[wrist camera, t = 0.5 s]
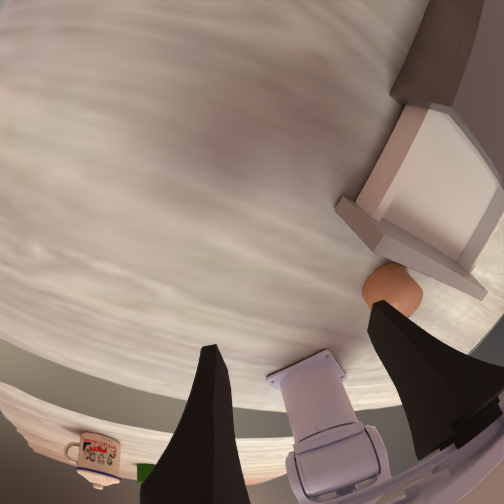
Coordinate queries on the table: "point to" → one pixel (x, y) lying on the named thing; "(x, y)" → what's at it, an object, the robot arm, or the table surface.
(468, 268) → the tray
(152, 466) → the candle
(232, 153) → the table surface
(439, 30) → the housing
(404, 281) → the orange rounded part
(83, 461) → the teacup with lid
